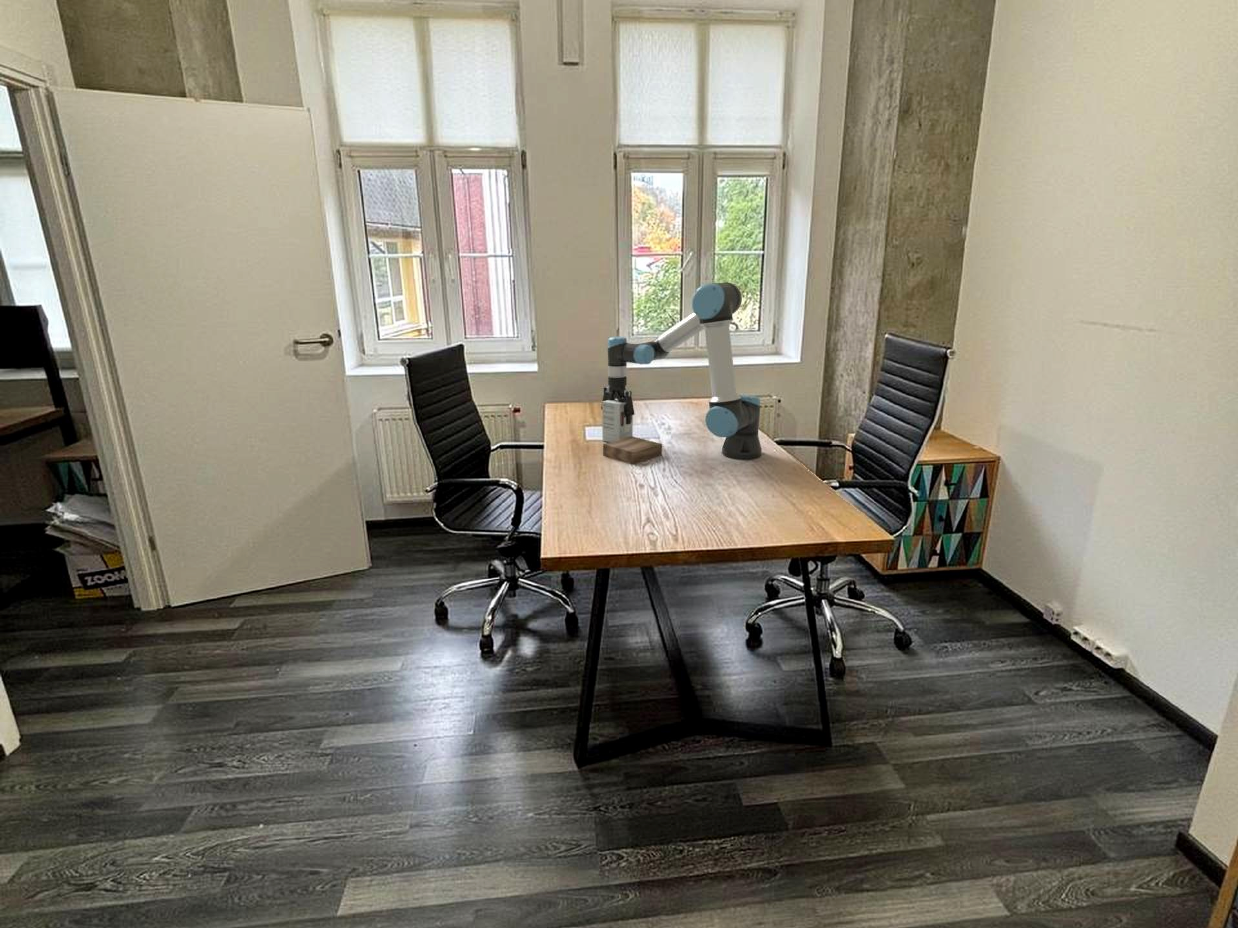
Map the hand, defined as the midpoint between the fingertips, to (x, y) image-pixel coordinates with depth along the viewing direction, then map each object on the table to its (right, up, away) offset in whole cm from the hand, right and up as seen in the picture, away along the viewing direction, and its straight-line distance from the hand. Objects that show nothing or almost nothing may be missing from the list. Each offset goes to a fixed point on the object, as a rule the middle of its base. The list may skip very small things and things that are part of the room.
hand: (617, 429), depth 267 cm
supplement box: (0, -5, +1) cm, 5 cm away
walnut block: (+6, -11, -19) cm, 22 cm away
